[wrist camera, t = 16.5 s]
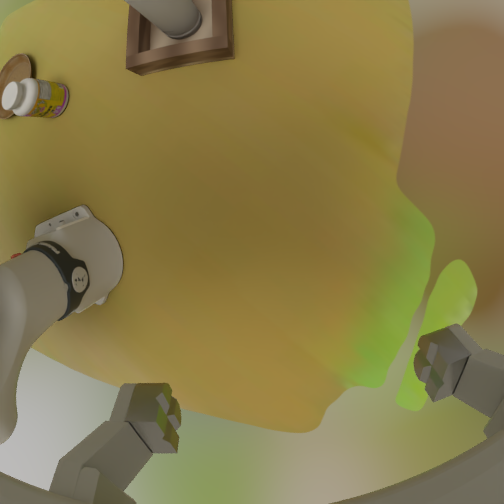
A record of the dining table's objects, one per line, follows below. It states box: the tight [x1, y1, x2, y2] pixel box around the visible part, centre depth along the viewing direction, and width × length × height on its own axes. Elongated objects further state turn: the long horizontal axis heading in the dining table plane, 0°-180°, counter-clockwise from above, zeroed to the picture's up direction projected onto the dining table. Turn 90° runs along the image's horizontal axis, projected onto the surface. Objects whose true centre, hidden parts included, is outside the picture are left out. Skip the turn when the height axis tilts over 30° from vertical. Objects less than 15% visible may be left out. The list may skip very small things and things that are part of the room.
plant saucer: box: [0, 54, 32, 119], centre depth 40 cm, size 15×15×3 cm
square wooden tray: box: [126, 0, 235, 76], centre depth 33 cm, size 15×15×5 cm
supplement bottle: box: [2, 78, 69, 118], centre depth 35 cm, size 7×7×13 cm
